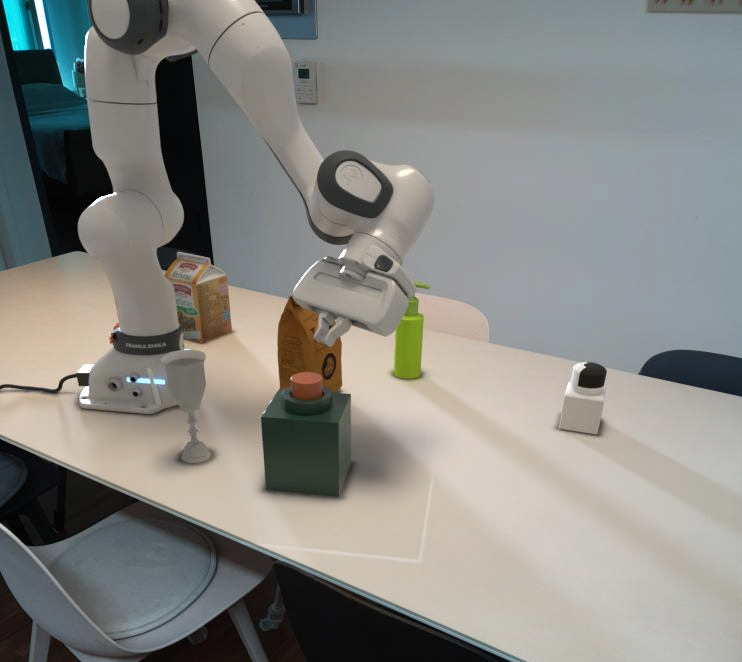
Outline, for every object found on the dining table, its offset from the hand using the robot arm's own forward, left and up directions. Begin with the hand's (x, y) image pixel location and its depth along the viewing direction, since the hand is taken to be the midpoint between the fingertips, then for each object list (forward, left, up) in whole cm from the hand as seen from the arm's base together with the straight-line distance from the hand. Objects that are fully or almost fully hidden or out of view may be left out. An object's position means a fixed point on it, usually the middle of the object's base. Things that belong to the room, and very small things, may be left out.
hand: (321, 342), depth 110 cm
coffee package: (-3, +31, -23) cm, 38 cm away
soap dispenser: (+18, +43, -22) cm, 51 cm away
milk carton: (-32, +69, -23) cm, 79 cm away
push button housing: (-2, -2, -22) cm, 23 cm away
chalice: (-22, +5, -23) cm, 32 cm away
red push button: (-2, -2, -8) cm, 8 cm away
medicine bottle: (+49, +18, -23) cm, 56 cm away
